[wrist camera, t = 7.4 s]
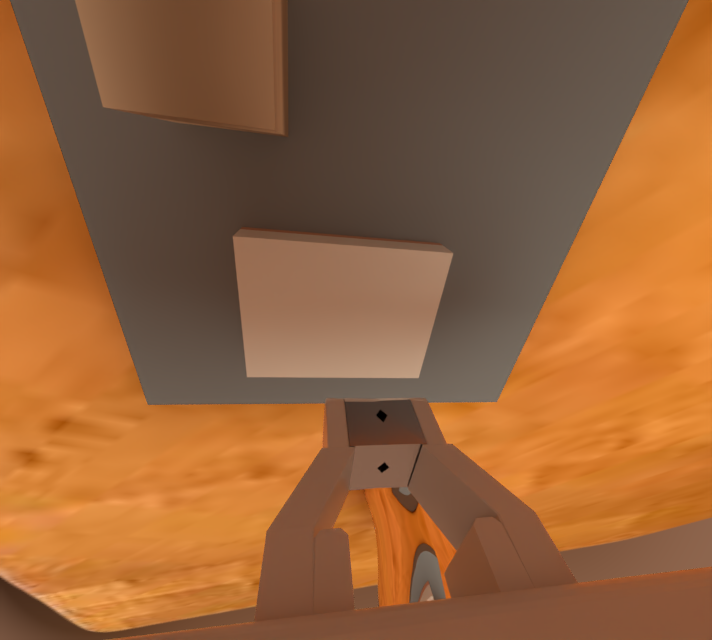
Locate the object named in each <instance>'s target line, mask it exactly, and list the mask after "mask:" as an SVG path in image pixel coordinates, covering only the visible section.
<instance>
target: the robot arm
mask: <svg viewBox="0 0 712 640" xmlns="http://www.w3.org/2000/svg"><path fill="white" fill-rule="evenodd" d="M396 487H408V490H409V491H410V492H411V494H412V495H413V496H414V498H415V499H416V500H417V501H418V503H419V504H420V505H421V506H422V508H423V509H424V510H425V511H426V513H427V514H428V515H429V517H430V518H431V519H432V520H433V522H434V523H435V524H436V525H437V527H438V528H439V529H440V530H441V532H442V533H443V534H444V535H445V537H446V538H447V539H448V541H449V542H450V543H451V544H452V546H453V547H454V548H455V549H456V553H455V555H454V557H453V558H452V560H451V562H450V564H449V565H448V567H447V569H446V571H445V573H444V575H445V579H446V582H447V586H448V589H449V592H450V596H451V598H448V599H440V600H431V601H423V602H415V603H407V604H398V605H390V606H382V607H373V608H366V609H357V610H355V607H354V596H353V585H352V574H351V562H350V551H349V540H348V534H347V533H346V532H344V531H343V530H342V529H341V528H336V529H332V528H333V526H334V524H335V522H336V519H337V517H338V515H339V513H340V510H341V508H342V506H343V504H344V501H345V499H346V497H347V495H348V492H349V490H360V489H372V488H396ZM108 640H712V567H706V568H697V569H689V570H680V571H672V572H664V573H656V574H647V575H640V576H631V577H623V578H615V579H607V580H597V581H589V582H581V583H578V582H577V581H576V579H575V577H574V576H573V574H572V572H571V571H570V569H569V567H568V566H567V564H566V562H565V561H564V559H563V557H562V556H561V554H560V552H559V551H558V549H557V548H556V546H555V544H554V543H553V541H552V539H551V538H550V536H549V534H548V533H547V531H546V529H545V528H544V526H543V524H542V523H541V521H540V519H539V518H538V516H537V515H536V513H535V512H534V511H533V510H532V509H531V508H529V507H528V506H527V505H526V504H524V503H523V502H522V501H521V500H520V499H518V498H517V497H516V496H515V495H514V494H512V493H511V492H510V491H509V490H507V489H506V488H505V487H504V486H503V485H501V484H500V483H499V482H498V481H497V480H495V479H494V478H493V477H492V476H490V475H489V474H488V473H487V472H486V471H484V470H483V469H482V468H481V467H479V466H478V465H477V464H476V463H475V462H473V461H472V460H471V459H470V458H469V457H467V456H466V455H465V454H464V453H462V452H461V451H460V450H459V449H458V448H456V447H455V446H454V445H453V444H447V443H446V441H445V439H444V436H443V434H442V432H441V430H440V428H439V425H438V423H437V421H436V419H435V417H434V414H433V412H432V410H431V408H430V406H429V404H428V401H427V400H426V399H425V398H378V399H360V398H344V399H339V398H326V400H325V411H324V424H323V448H322V449H321V450H320V452H319V453H318V455H317V456H316V458H315V459H314V461H313V462H312V464H311V465H310V467H309V468H308V470H307V472H306V473H305V475H304V476H303V478H302V479H301V481H300V482H299V484H298V485H297V487H296V488H295V490H294V491H293V493H292V494H291V496H290V497H289V499H288V500H287V502H286V503H285V505H284V506H283V508H282V509H281V511H280V512H279V514H278V515H277V517H276V518H275V520H274V521H273V523H272V524H271V526H270V527H269V529H268V530H267V533H266V541H265V548H264V555H263V562H262V569H261V576H260V584H259V591H258V598H257V605H256V612H255V620H254V622H249V623H241V624H232V625H225V626H216V627H207V628H199V629H191V630H183V631H175V632H167V633H158V634H149V635H141V636H134V637H124V638H117V639H108Z"/></svg>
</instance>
